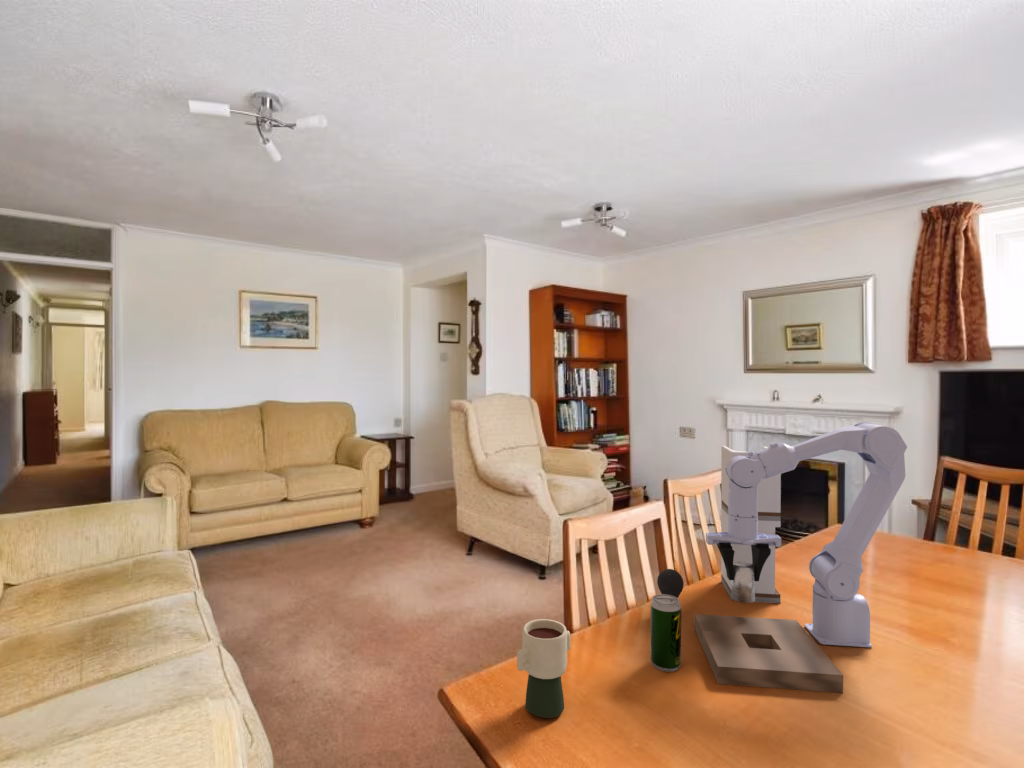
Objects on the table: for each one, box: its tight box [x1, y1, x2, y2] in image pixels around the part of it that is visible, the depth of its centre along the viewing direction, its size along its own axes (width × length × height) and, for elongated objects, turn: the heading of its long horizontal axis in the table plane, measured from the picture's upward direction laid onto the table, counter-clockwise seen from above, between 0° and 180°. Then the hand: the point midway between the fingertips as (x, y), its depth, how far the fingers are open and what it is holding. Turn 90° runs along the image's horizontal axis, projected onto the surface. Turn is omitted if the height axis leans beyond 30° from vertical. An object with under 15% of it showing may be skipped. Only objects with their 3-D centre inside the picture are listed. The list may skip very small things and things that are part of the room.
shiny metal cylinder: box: [731, 561, 755, 604], centre depth 110 cm, size 4×4×7 cm
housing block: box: [693, 613, 844, 694], centre depth 99 cm, size 20×20×3 cm
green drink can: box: [650, 593, 682, 673], centre depth 97 cm, size 5×5×12 cm
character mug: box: [516, 618, 571, 719], centre depth 84 cm, size 11×7×13 cm, turn 127°
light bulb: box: [656, 568, 685, 599], centre depth 117 cm, size 6×6×10 cm
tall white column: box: [720, 445, 782, 604], centre depth 129 cm, size 11×11×35 cm
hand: (742, 578), depth 110 cm, fingers closed on shiny metal cylinder, 4 cm apart
